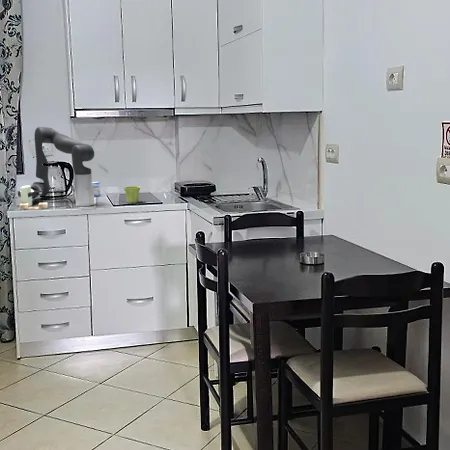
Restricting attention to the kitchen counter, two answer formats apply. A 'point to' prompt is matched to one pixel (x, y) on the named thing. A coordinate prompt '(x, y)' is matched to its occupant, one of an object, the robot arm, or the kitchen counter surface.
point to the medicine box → (96, 188)
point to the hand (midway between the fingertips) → (24, 195)
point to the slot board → (26, 206)
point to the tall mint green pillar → (26, 195)
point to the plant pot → (132, 194)
